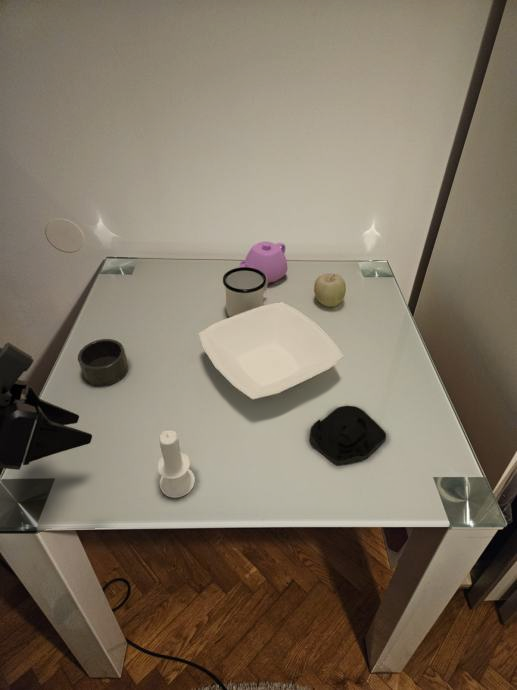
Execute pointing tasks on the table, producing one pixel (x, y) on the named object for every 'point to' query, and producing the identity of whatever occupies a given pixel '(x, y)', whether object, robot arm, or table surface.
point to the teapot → (267, 260)
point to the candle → (174, 467)
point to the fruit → (330, 289)
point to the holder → (103, 362)
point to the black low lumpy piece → (346, 435)
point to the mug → (244, 289)
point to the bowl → (269, 349)
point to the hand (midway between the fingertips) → (84, 428)
